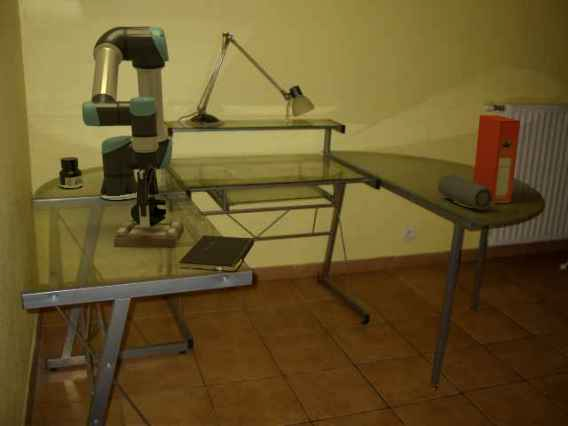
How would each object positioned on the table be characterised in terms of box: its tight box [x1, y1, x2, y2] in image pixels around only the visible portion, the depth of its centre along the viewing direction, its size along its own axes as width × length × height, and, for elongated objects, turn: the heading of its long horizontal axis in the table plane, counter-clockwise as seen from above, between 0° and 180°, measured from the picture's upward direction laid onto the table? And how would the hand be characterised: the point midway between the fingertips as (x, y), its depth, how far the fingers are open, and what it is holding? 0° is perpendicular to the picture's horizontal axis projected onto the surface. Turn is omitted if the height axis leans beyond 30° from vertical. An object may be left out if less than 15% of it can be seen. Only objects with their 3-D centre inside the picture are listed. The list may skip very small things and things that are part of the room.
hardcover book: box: [178, 234, 255, 269], centre depth 168 cm, size 16×23×2 cm
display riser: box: [113, 219, 185, 248], centre depth 181 cm, size 16×18×4 cm
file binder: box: [472, 114, 521, 202], centre depth 228 cm, size 8×17×32 cm, turn 7°
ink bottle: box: [58, 156, 84, 186], centre depth 241 cm, size 10×9×12 cm
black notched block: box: [130, 196, 167, 226], centre depth 179 cm, size 10×7×7 cm
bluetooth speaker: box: [437, 174, 493, 211], centre depth 222 cm, size 23×9×10 cm, turn 20°
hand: (149, 220), depth 180 cm, fingers closed on black notched block, 11 cm apart
